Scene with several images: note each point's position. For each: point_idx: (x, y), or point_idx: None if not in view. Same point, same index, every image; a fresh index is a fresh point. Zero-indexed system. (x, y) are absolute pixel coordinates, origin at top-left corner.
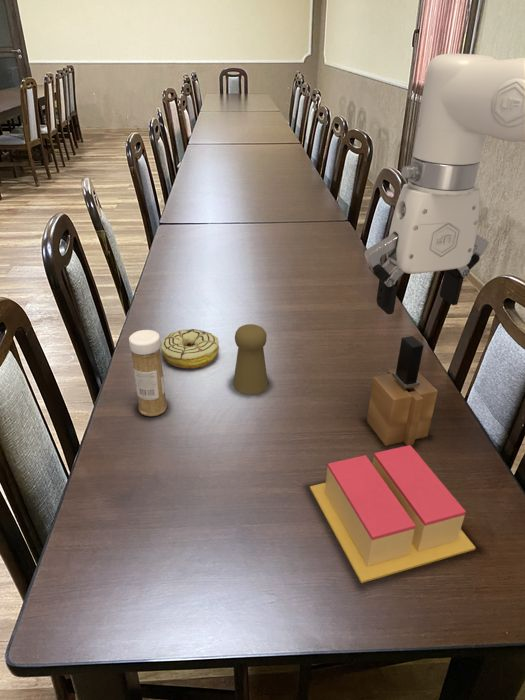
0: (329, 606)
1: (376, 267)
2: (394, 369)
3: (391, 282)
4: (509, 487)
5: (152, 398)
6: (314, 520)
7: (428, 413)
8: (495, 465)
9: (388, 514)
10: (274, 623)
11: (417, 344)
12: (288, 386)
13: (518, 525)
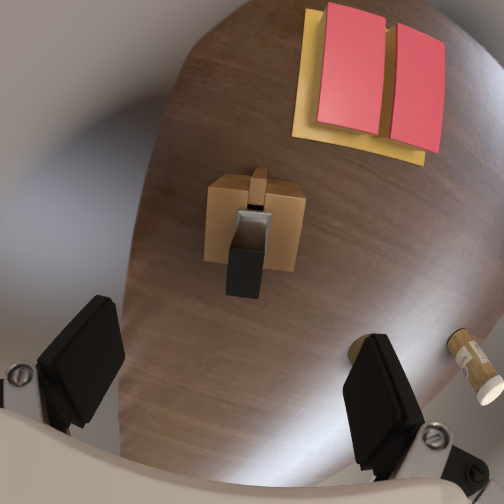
0: (458, 53)
1: (486, 481)
2: None
3: (428, 437)
4: (193, 57)
5: (473, 341)
6: None
7: (226, 180)
8: (179, 93)
9: (417, 49)
10: (491, 73)
11: (241, 258)
12: (333, 334)
13: (231, 13)
